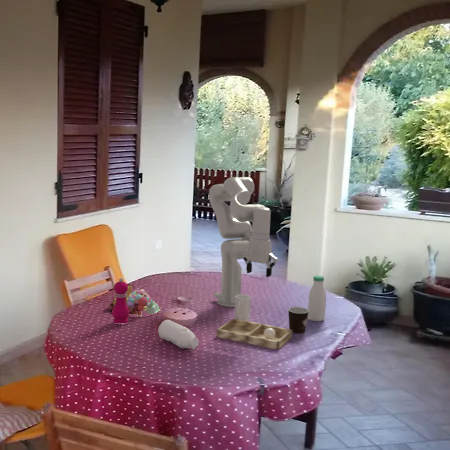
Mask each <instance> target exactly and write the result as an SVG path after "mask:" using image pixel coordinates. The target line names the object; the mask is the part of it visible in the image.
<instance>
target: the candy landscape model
mask: <svg viewBox="0 0 450 450" xmlns="http://www.w3.org/2000/svg"><path fill="white" fill-rule="evenodd" d="M132 290H133V286H132V285H128V290H127V292H126V293H127V296H126V304H127V306H128V309H129V314H132V315H133V314H138V315H137V317H139V316H142V315H141V314H142V312H141V311H146V310H148V311H147V313H149V314H153V313H157V312H158V311H160V309H161V307H162V304H160V305H159V304H158V303H157V302H155V301H154V300H153V299H152V297H150V293H149V292H148V291H147V290H144V289H143V288H141V289H135V290H134V291H132ZM114 297H115V298H113V300H112V301H111V302H110V303H109V305H108V306H107V307H109V308H108V310H109V309H110V310H109V311H113V310H112V309H113V308H114V306H115V304H116V296H115V294H114ZM147 306H148V307H147ZM146 307H147V308H146Z"/></svg>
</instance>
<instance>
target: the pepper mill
mask: <svg viewBox="0 0 450 450" xmlns="http://www.w3.org/2000/svg"><path fill="white" fill-rule="evenodd" d="M128 286H129V285H128V283H127V282H125V281H124V278H123V277H120V278H119V279H118V281H117V282H116V283H115V284H114V286H113V291H114V292H115V293H114V295H115V296H116V297H115V296H114V297H115V298H116V304H115V306H114V308H113V312H111V313H112V317H113V322H114V323H127V322H128V323H129V317H128V316H129V309H128V306H127V304H126V296H127V293H126V292H127V290H128ZM114 323H113V324H114Z"/></svg>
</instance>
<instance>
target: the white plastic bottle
mask: <svg viewBox="0 0 450 450" xmlns="http://www.w3.org/2000/svg"><path fill="white" fill-rule="evenodd" d="M157 331H158V337H159V338H160V339H161V340H164V339H165V341H166V342H170V341H171V342H170V343H172V344H174V345H175V346H177V347H179V348H180V349H192V350H196V349H195V348H197V347H198V346H199V343H200V341H199V339H198V338H197V337H196V334H195V333H194V332H193V331H191V329H189V328H188V327H185V326H184V325H181V324H179V323H177V322H174V321H172V320H170V319H165V320H163V321H162V322H161V323H160V324H159V326H158V330H157ZM182 347H184V348H182Z"/></svg>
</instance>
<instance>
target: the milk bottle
mask: <svg viewBox="0 0 450 450" xmlns="http://www.w3.org/2000/svg"><path fill="white" fill-rule="evenodd" d="M324 281H325V277H324V276H323V275H314V276H313V283H312V287H311V289H310V290H309V295H308V303H307V304H308V306H307V309H308V310H309V313H308V318H307V320H309V321H311V322H323V321H324V320H325V318H326V305H327V304H326V302H327V292H326V290H325V285H324Z"/></svg>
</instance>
